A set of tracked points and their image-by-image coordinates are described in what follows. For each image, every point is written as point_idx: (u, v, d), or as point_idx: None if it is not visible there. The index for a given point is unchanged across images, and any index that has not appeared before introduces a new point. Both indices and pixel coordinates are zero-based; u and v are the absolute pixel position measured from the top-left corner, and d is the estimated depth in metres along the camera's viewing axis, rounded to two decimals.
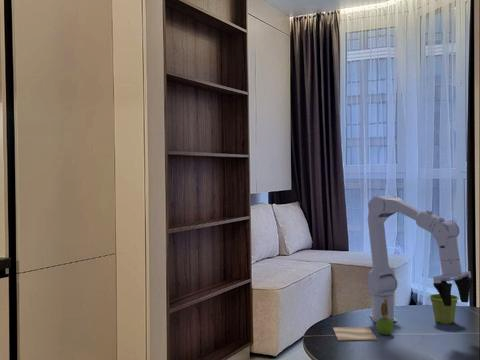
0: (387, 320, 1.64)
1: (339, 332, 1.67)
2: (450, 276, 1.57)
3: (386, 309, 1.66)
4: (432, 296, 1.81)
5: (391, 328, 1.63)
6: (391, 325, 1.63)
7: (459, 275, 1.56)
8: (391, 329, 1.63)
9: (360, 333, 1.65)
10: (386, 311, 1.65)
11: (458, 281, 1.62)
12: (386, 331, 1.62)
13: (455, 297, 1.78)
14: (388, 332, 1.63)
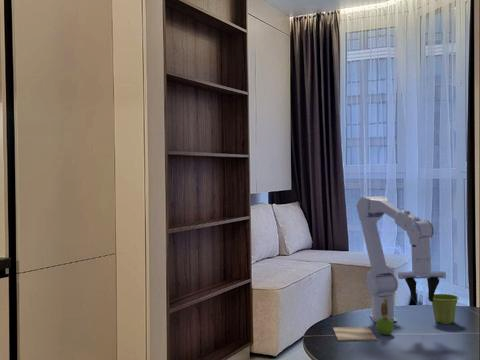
0: (387, 320, 1.64)
1: (339, 332, 1.67)
2: (412, 274, 1.63)
3: (386, 309, 1.66)
4: None
5: (391, 328, 1.63)
6: (391, 325, 1.63)
7: (421, 275, 1.61)
8: (391, 329, 1.63)
9: (360, 333, 1.65)
10: (386, 311, 1.65)
11: (428, 280, 1.66)
12: (386, 331, 1.62)
13: (455, 297, 1.78)
14: (388, 332, 1.63)
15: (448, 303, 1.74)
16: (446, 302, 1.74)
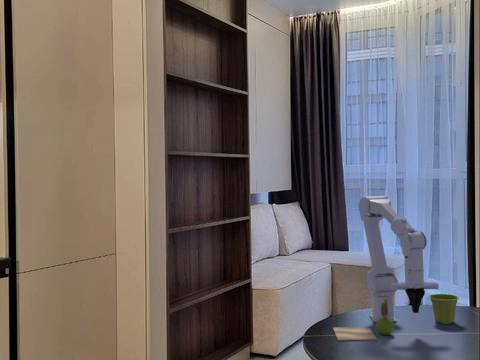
0: (387, 320, 1.64)
1: (339, 332, 1.67)
2: (405, 285, 1.63)
3: (386, 309, 1.66)
4: (432, 296, 1.81)
5: (391, 328, 1.63)
6: (391, 325, 1.63)
7: (414, 286, 1.61)
8: (391, 329, 1.63)
9: (360, 333, 1.65)
10: (386, 311, 1.65)
11: (414, 291, 1.66)
12: (386, 331, 1.62)
13: (455, 297, 1.78)
14: (388, 332, 1.63)
15: (448, 303, 1.74)
16: (446, 302, 1.74)
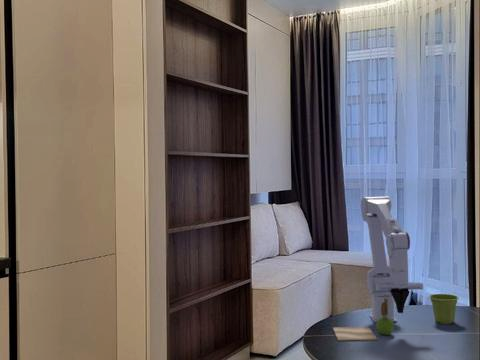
0: (387, 320, 1.64)
1: (339, 332, 1.67)
2: (390, 285, 1.63)
3: (386, 309, 1.66)
4: (432, 296, 1.81)
5: (391, 328, 1.63)
6: (391, 325, 1.63)
7: (398, 286, 1.62)
8: (391, 329, 1.63)
9: (360, 333, 1.65)
10: (386, 311, 1.65)
11: None
12: (386, 331, 1.62)
13: (455, 297, 1.78)
14: (388, 332, 1.63)
15: (448, 303, 1.74)
16: (446, 302, 1.74)
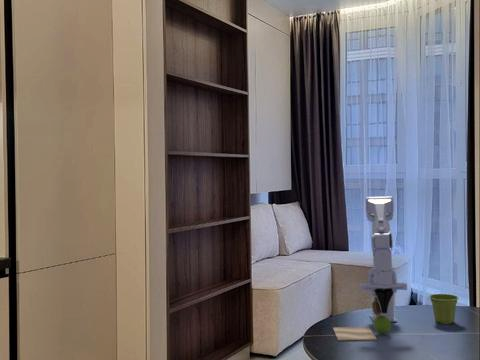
0: (382, 317, 1.64)
1: (339, 332, 1.67)
2: (374, 286, 1.64)
3: (378, 307, 1.66)
4: (432, 296, 1.81)
5: (388, 325, 1.63)
6: (387, 322, 1.63)
7: (382, 286, 1.62)
8: (388, 326, 1.63)
9: (360, 333, 1.65)
10: (379, 309, 1.66)
11: None
12: (384, 329, 1.63)
13: (455, 297, 1.78)
14: (386, 329, 1.63)
15: (448, 303, 1.74)
16: (446, 302, 1.74)
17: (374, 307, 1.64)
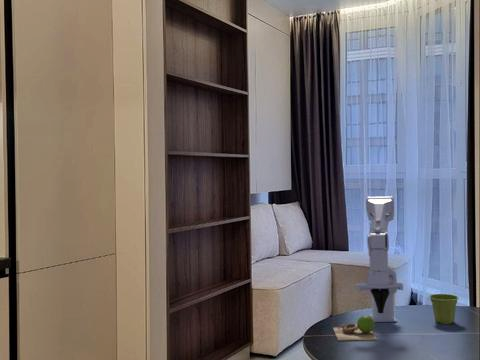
0: (358, 324, 1.65)
1: (339, 332, 1.67)
2: (370, 286, 1.64)
3: (349, 325, 1.68)
4: (432, 296, 1.81)
5: (364, 319, 1.64)
6: (361, 319, 1.65)
7: (378, 287, 1.62)
8: (365, 318, 1.64)
9: (360, 333, 1.65)
10: (351, 325, 1.67)
11: (379, 291, 1.67)
12: (368, 323, 1.63)
13: (455, 297, 1.78)
14: (369, 321, 1.64)
15: (448, 303, 1.74)
16: (446, 302, 1.74)
17: (347, 331, 1.65)
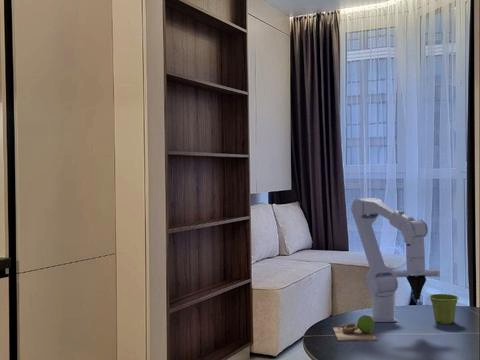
0: (358, 323, 1.65)
1: (339, 332, 1.67)
2: (407, 272, 1.66)
3: (349, 325, 1.68)
4: (432, 296, 1.81)
5: (364, 319, 1.64)
6: (361, 319, 1.65)
7: (415, 273, 1.64)
8: (365, 318, 1.64)
9: (360, 333, 1.65)
10: (351, 325, 1.67)
11: (415, 278, 1.69)
12: (368, 323, 1.63)
13: (455, 297, 1.78)
14: (369, 321, 1.64)
15: (448, 303, 1.74)
16: (446, 302, 1.74)
17: (347, 331, 1.65)
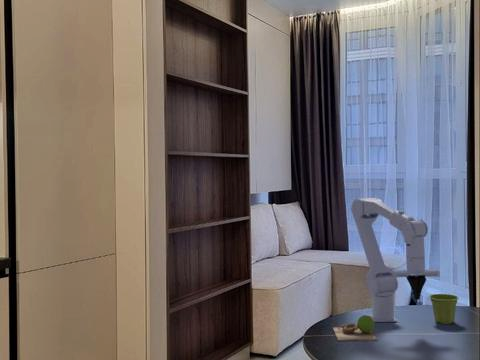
0: (358, 323, 1.65)
1: (339, 332, 1.67)
2: (407, 272, 1.66)
3: (349, 325, 1.68)
4: (432, 296, 1.81)
5: (364, 319, 1.64)
6: (361, 319, 1.65)
7: (415, 273, 1.64)
8: (365, 318, 1.64)
9: (360, 333, 1.65)
10: (351, 325, 1.67)
11: (415, 278, 1.69)
12: (368, 323, 1.63)
13: (455, 297, 1.78)
14: (369, 321, 1.64)
15: (448, 303, 1.74)
16: (446, 302, 1.74)
17: (347, 331, 1.65)
